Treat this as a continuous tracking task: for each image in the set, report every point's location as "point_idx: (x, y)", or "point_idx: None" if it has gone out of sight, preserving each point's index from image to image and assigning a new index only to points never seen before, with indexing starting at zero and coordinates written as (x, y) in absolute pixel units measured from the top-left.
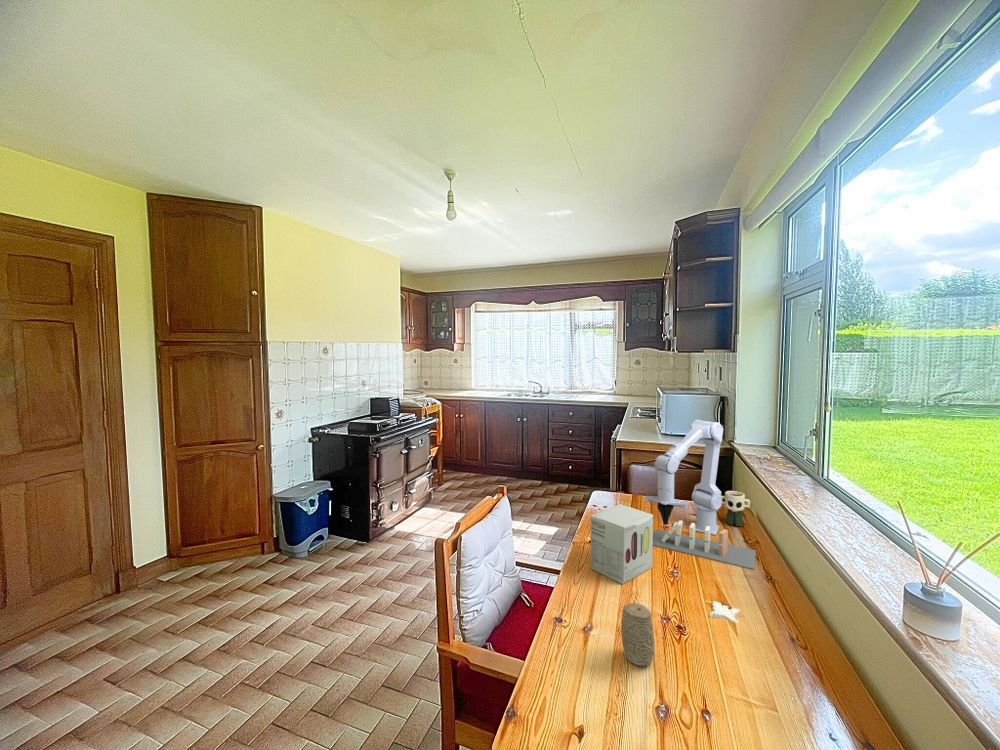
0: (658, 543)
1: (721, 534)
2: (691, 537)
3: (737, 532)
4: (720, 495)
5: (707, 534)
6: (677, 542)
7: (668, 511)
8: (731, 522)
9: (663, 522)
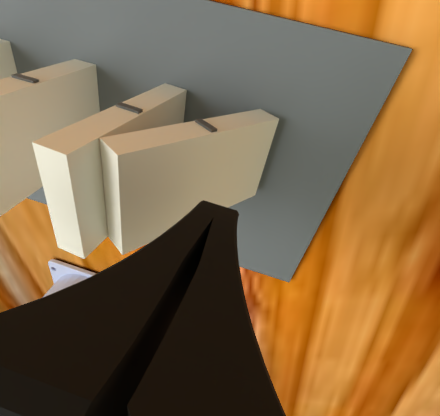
0: (303, 81)
1: None
2: (16, 79)
3: (10, 283)
4: None
5: None
6: (158, 90)
7: (65, 314)
8: None
9: (231, 217)
